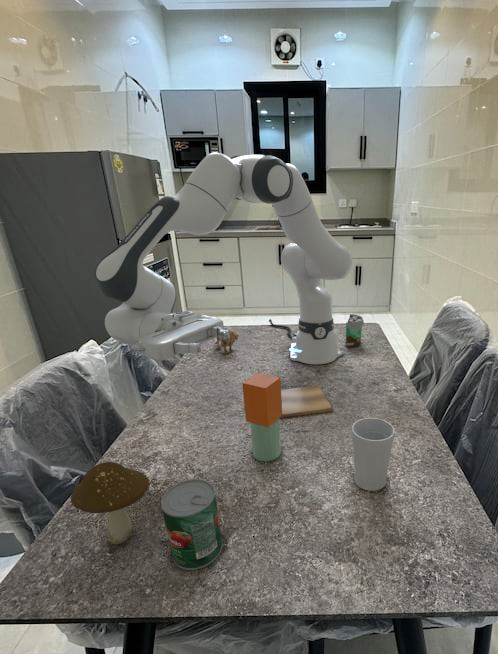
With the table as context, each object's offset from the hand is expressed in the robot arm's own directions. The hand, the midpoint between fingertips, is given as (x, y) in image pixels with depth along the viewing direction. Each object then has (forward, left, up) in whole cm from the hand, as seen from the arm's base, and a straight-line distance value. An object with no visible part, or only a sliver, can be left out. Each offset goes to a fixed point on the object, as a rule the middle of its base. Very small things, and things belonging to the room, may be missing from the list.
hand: (213, 341), depth 81 cm
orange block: (+8, +9, -15) cm, 19 cm away
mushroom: (+26, -17, -25) cm, 39 cm away
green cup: (+8, +9, -24) cm, 27 cm away
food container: (-54, +51, -25) cm, 78 cm away
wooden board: (-13, +21, -24) cm, 35 cm away
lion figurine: (-60, +2, -25) cm, 65 cm away
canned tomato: (+31, -5, -25) cm, 40 cm away
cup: (+22, +28, -25) cm, 43 cm away
